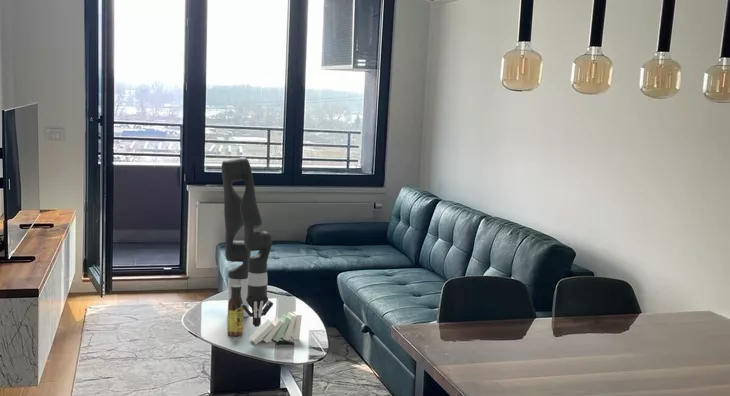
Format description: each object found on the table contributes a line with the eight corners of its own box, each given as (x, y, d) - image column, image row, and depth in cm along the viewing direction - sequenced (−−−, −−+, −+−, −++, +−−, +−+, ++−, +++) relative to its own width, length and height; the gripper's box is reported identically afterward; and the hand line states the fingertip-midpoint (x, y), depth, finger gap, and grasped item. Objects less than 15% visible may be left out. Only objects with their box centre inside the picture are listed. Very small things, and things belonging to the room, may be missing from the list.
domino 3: (270, 336, 275) (282, 313, 276) (274, 337, 276) (286, 315, 277) (273, 339, 271) (286, 317, 272) (278, 342, 272) (290, 319, 273)
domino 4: (279, 335, 277) (288, 312, 277) (284, 336, 278) (292, 313, 278) (284, 339, 273) (292, 315, 273) (288, 340, 273) (296, 316, 274)
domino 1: (249, 337, 271) (268, 319, 274) (252, 340, 272) (271, 322, 274) (253, 341, 267) (272, 322, 269) (256, 344, 268) (275, 326, 270)
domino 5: (290, 335, 279) (292, 311, 278) (294, 335, 280) (297, 311, 279) (294, 339, 275) (297, 315, 274) (299, 339, 275) (301, 315, 274)
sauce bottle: (239, 337, 275) (240, 288, 272) (224, 335, 276) (225, 287, 274) (245, 332, 281) (246, 284, 279) (231, 330, 283) (231, 283, 280)
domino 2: (259, 336, 273) (276, 316, 275) (263, 339, 274) (279, 319, 276) (263, 340, 269) (280, 320, 271) (267, 343, 270) (283, 322, 271)
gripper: (243, 286, 261) (242, 331, 263) (276, 284, 267) (275, 327, 269) (238, 281, 268) (237, 325, 270) (270, 279, 273) (269, 321, 276)
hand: (256, 326), depth 269 cm, fingers closed
